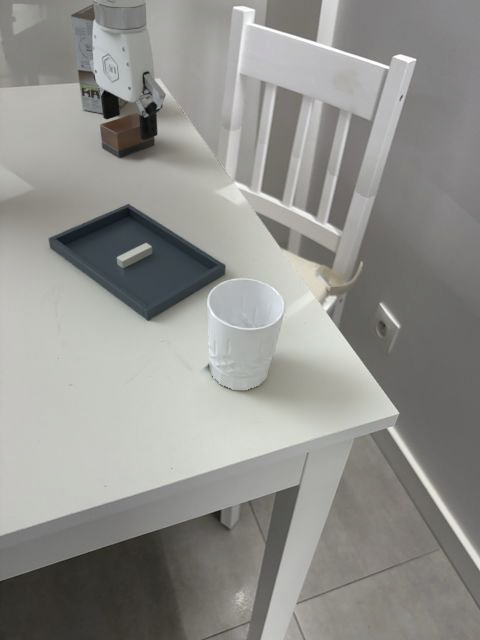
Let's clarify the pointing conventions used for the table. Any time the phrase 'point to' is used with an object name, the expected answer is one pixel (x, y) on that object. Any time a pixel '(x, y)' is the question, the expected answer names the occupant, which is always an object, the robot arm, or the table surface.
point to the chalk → (134, 255)
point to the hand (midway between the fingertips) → (130, 127)
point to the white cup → (243, 331)
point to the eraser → (123, 136)
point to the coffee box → (87, 59)
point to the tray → (144, 275)
